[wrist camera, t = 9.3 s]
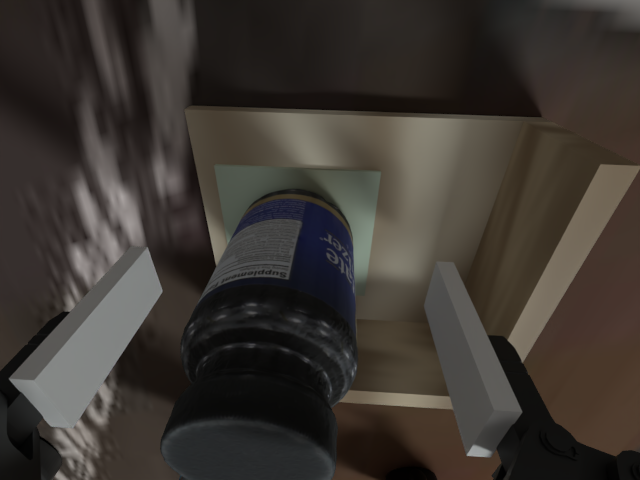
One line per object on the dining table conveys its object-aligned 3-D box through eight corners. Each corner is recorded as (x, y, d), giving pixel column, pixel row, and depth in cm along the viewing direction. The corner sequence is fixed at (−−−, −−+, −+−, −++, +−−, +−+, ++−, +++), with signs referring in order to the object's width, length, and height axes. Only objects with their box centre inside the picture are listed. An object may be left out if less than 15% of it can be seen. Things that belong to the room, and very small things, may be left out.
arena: (231, 315, 23) (202, 393, 18) (190, 105, 15) (121, 145, 10) (460, 328, 22) (492, 411, 18) (542, 117, 15) (641, 165, 10)
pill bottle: (362, 268, 19) (383, 506, 10) (264, 286, 20) (200, 513, 11) (336, 170, 15) (329, 390, 6) (220, 199, 17) (76, 417, 8)
